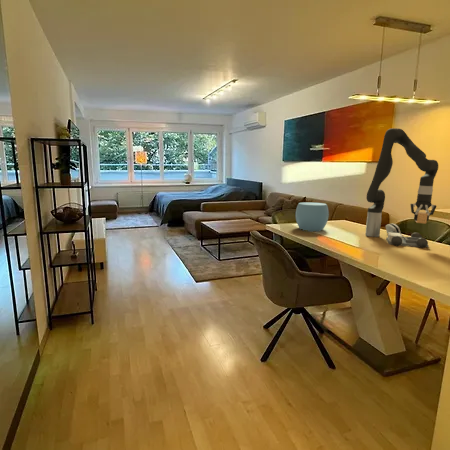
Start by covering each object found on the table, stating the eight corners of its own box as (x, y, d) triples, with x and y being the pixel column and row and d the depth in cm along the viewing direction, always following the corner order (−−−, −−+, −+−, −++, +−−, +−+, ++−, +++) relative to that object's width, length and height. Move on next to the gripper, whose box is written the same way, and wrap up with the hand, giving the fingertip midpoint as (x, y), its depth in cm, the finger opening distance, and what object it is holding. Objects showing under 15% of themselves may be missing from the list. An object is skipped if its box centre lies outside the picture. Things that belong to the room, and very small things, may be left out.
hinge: (404, 238, 228) (400, 225, 227) (397, 240, 229) (394, 227, 227) (393, 233, 245) (390, 221, 243) (387, 235, 245) (384, 223, 244)
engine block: (416, 222, 199) (418, 213, 197) (415, 221, 203) (416, 211, 202) (426, 223, 197) (427, 213, 196) (424, 222, 201) (425, 212, 200)
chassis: (389, 245, 207) (390, 235, 206) (385, 238, 225) (386, 230, 224) (429, 248, 199) (430, 238, 198) (422, 241, 218) (423, 233, 217)
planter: (324, 227, 268) (325, 202, 264) (330, 233, 243) (332, 206, 240) (293, 226, 270) (294, 201, 267) (296, 231, 246) (298, 205, 242)
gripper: (412, 193, 196) (408, 221, 199) (440, 194, 191) (435, 223, 194) (410, 192, 202) (406, 219, 206) (437, 193, 198) (433, 221, 201)
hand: (420, 220), depth 200 cm, fingers closed on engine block, 5 cm apart
